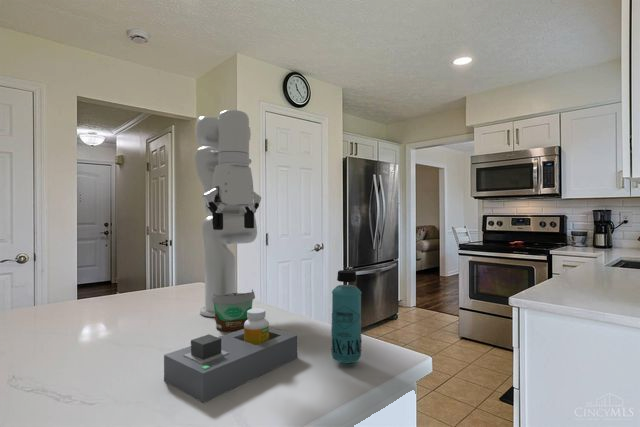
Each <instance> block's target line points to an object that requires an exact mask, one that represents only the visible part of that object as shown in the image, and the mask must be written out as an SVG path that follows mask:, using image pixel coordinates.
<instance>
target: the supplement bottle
mask: <svg viewBox="0 0 640 427" xmlns="http://www.w3.org/2000/svg"><path fill="white" fill-rule="evenodd" d="M247 318H248V320H246V321H245V323H244V341H245V342H248V343H251V344H254V345H258V344H260V343H263V342H266V341H268V340H269V327H270V323H269V320H268V319H267V318H266V309H264V308H259V307H258V308H255V307H254V308H252V309H250V310H248V311H247Z"/></svg>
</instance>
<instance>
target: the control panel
mask: <svg viewBox="0 0 640 427" xmlns="http://www.w3.org/2000/svg"><path fill="white" fill-rule="evenodd" d="M297 358H298V334H295V333H291V332H287V331H285V330H279V329H277V328H273V327H270V326H269V340H268V341H266V342H263V343H260V344H258V345H254V344H251V343H248V342H245V341H244V329H241V330H238V331H235V332H228V333H227V334H224V335H221V336H215V335H212V334H206V335H203V336H200V337H197V338H193V339H190V346H187V347H184V348H181V349H178V350H175V351H171V352H168V353H165V354H163V366H164V367H163V381H164V382H166V383H167V384H169V385H171V386H172V387H175V388H176V389H178V390H180V391H181V392H184V393H185V394H187V395H188V396H190V397H192V398H195V399H196V400H197V401H199V402H202V403H203V404H204V403H205V402H208V401H210V400H212V399H214V398H216V397H218V396H220V395H222V394H224V393H227V392H228V391H231V390H233V389H235V388H237V387H239V386H241V385H244V384H245V382H246V383H247V381H248V382H249V380H250V381H252V380H254V379H256V378H259V377H261V376H262V375H264V374H266V373H268V372H270V371H273V370H274V369H277V368H278V367H281V366H283V365H285V364H287V363H289V362H291V361H293V360H295V359H297Z"/></svg>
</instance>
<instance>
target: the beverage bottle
mask: <svg viewBox="0 0 640 427" xmlns="http://www.w3.org/2000/svg"><path fill="white" fill-rule="evenodd" d="M357 279H358V278H357V272H356V271H355V270H351V269H343V270H338V271H337V278H336V281H338V282H340V283H341V282H342V283H352V282H353V283H354V282H356V281H357ZM331 295H332V297H331V298H332V299H331V301H332V305H331V306H332V308H331V311H332V313H331V329H330V330H331V346H330V353H331V355H332V356H331V357H332V359H333V360H335V361H336V362H339V363H346V364H347V363H350V364H351V363H355V362H357V361H359V360H360V359H361V356H362V339H363V338H362V327H363V325H362V291H361V290H360V288H358V286H356V285H354V284H353V285H352V284H340V285H339V284H338V285H336V287H335V288H334V289H332V291H331Z"/></svg>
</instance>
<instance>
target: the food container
mask: <svg viewBox="0 0 640 427" xmlns="http://www.w3.org/2000/svg"><path fill="white" fill-rule="evenodd" d="M255 298H256V296H255V291H254V289H252V290H251V292H243V293H241V292H240V293H239V292H235V293H232V294H228V295H223V296H221V295H215V294H213V296H212V299H211V301H212V302H214V310H215V317H214V318H215V326H216V330H217V331H219V332H224V333H232V332H235V331H238V330H241V329H244V323H245V321H246V320H248V318H247V311H248V310H250V309H253V301H254V300H255Z"/></svg>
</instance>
